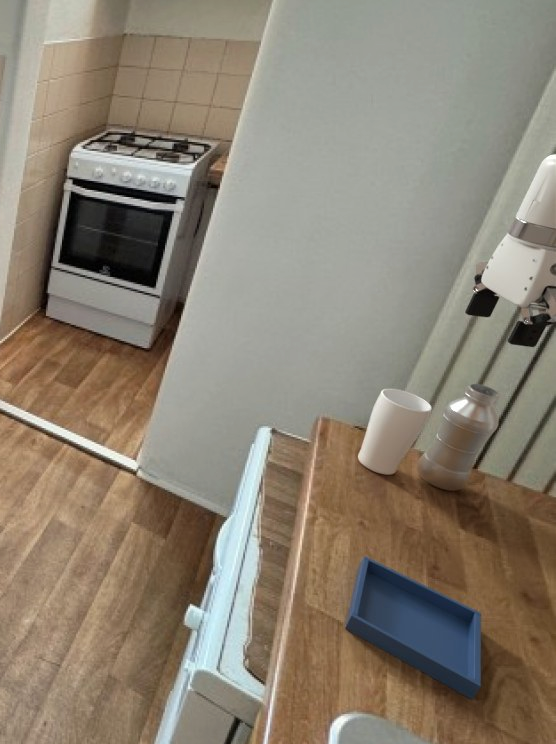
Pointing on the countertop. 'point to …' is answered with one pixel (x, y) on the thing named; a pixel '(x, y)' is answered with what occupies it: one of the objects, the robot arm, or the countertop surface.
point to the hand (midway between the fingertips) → (497, 329)
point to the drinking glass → (392, 429)
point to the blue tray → (417, 626)
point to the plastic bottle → (460, 438)
